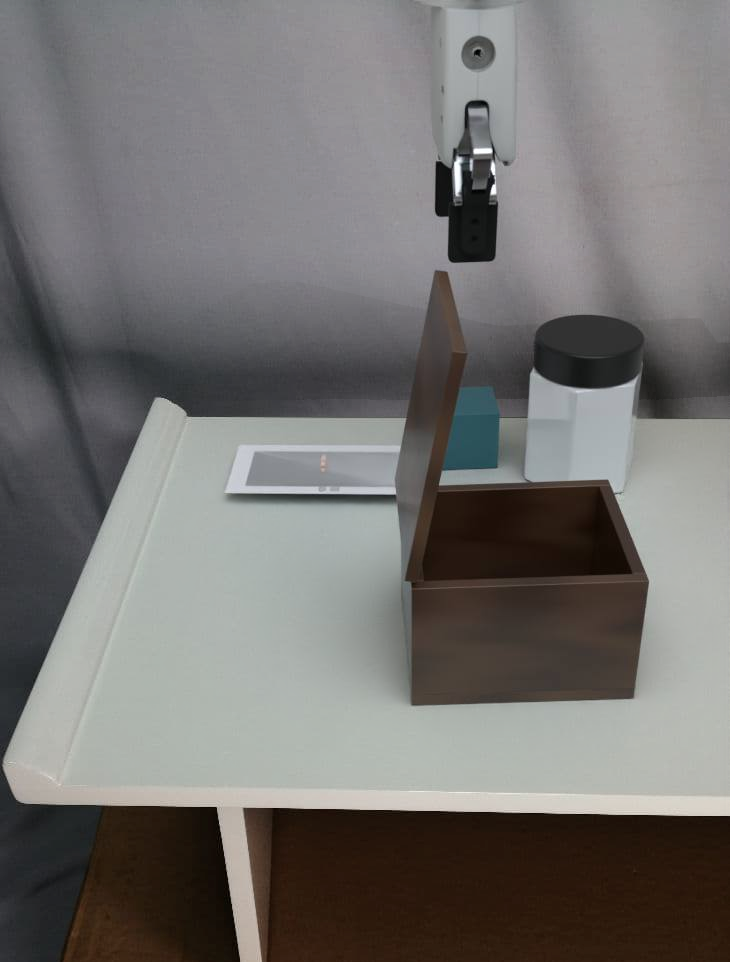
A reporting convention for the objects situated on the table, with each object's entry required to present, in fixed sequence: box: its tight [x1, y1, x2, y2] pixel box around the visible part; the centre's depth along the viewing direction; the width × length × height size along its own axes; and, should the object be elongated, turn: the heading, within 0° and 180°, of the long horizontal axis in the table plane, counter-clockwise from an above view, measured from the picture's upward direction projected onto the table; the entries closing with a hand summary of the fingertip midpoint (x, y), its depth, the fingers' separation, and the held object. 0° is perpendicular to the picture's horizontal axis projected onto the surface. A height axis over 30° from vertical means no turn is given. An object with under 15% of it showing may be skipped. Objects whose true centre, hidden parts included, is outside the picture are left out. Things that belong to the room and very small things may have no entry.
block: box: [442, 385, 501, 471], centre depth 97 cm, size 5×5×5 cm
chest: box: [400, 479, 650, 706], centre depth 74 cm, size 14×12×9 cm
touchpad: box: [224, 444, 401, 496], centre depth 95 cm, size 8×15×2 cm, turn 85°
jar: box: [523, 314, 646, 494], centre depth 92 cm, size 9×8×12 cm
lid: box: [395, 269, 468, 583], centre depth 68 cm, size 14×12×1 cm
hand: (463, 236), depth 84 cm, fingers open, 9 cm apart
